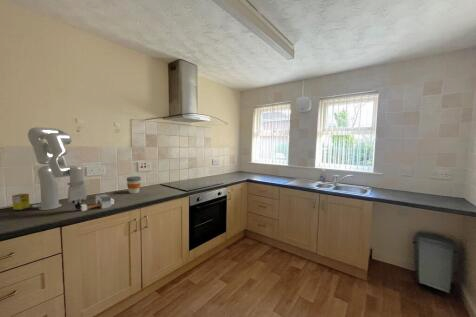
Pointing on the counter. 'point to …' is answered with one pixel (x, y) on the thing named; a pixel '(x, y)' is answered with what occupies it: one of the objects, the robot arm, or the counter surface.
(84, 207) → the wooden dumbbell
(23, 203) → the supplement box
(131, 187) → the reusable coffee cup
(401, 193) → the counter surface
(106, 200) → the housing
